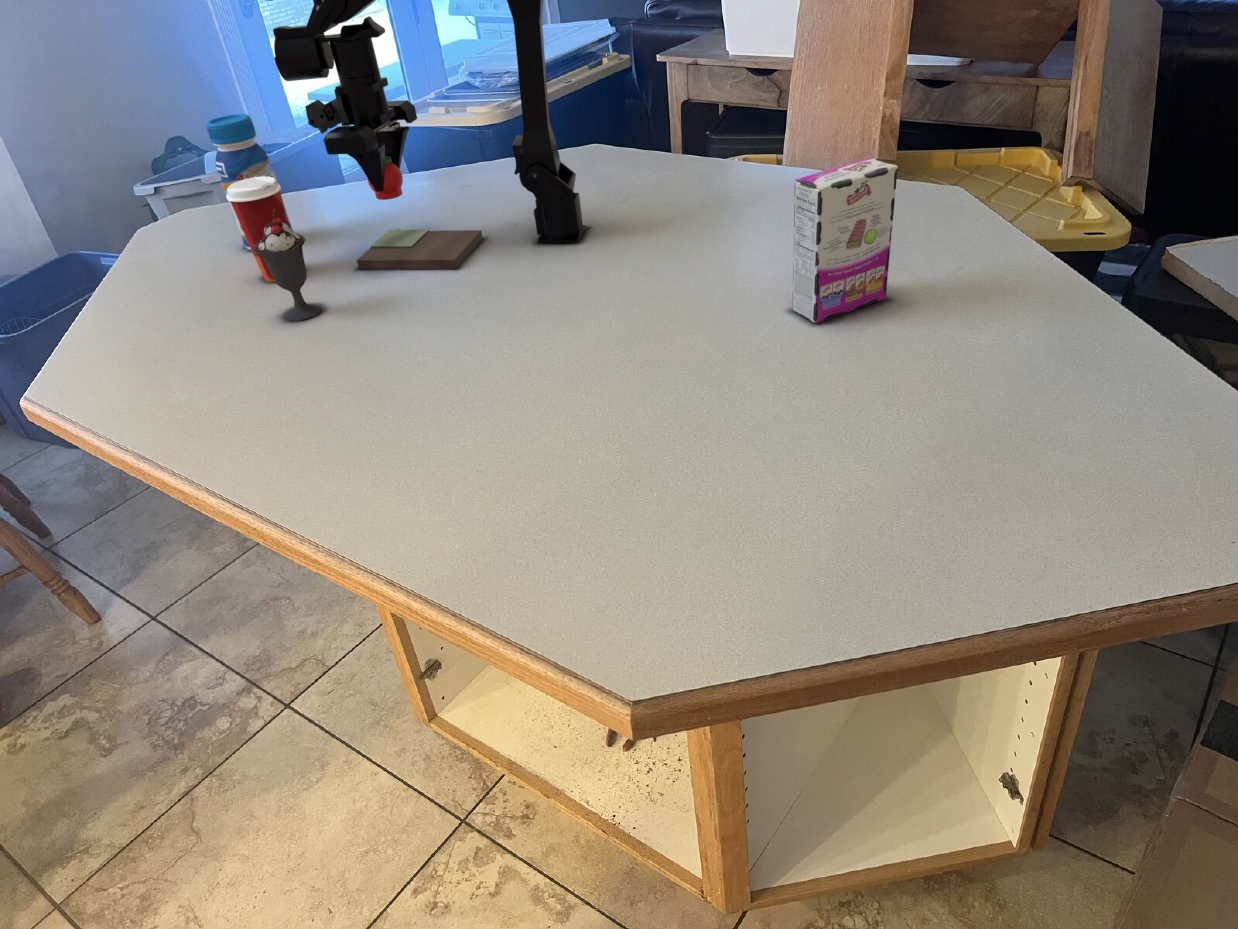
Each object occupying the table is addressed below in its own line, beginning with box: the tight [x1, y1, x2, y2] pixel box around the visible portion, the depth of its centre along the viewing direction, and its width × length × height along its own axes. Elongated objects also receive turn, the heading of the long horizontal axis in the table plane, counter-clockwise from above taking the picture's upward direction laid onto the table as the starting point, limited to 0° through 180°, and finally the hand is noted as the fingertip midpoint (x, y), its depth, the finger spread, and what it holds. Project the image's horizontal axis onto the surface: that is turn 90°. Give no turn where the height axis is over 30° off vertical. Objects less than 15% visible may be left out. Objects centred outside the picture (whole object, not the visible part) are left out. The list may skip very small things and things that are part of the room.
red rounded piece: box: [366, 156, 404, 201], centre depth 124 cm, size 5×5×6 cm
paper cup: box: [226, 176, 290, 283], centre depth 123 cm, size 8×8×14 cm
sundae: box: [253, 209, 322, 322], centre depth 110 cm, size 7×7×15 cm
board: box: [356, 229, 484, 270], centre depth 128 cm, size 16×12×2 cm
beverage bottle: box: [205, 113, 294, 251], centre depth 133 cm, size 8×8×20 cm
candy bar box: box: [791, 157, 899, 324], centre depth 97 cm, size 11×5×16 cm, turn 117°
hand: (387, 185), depth 125 cm, fingers closed on red rounded piece, 5 cm apart
